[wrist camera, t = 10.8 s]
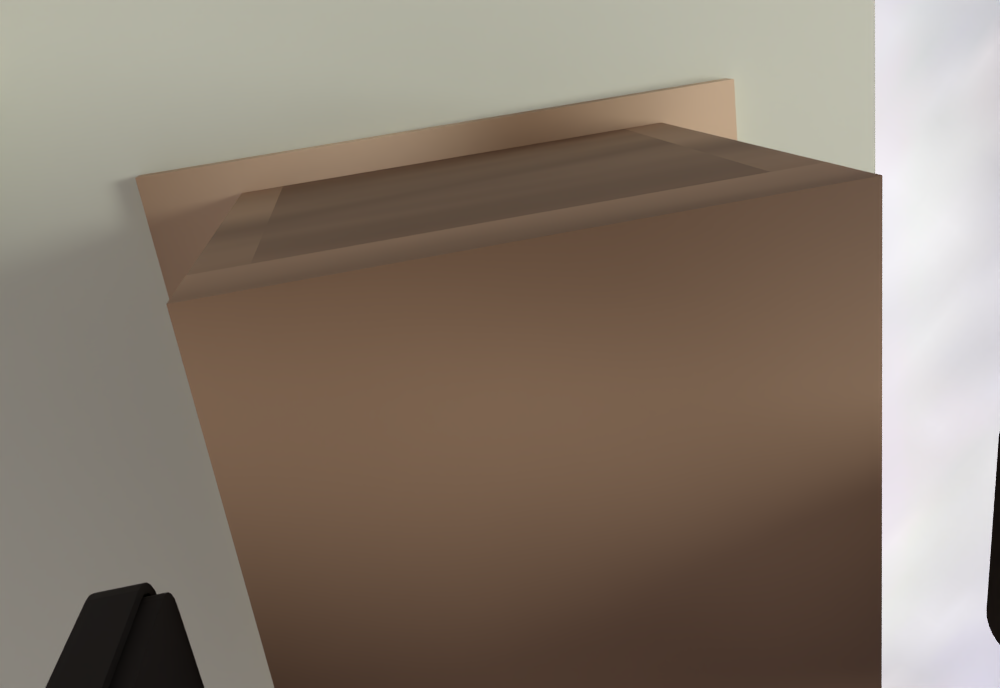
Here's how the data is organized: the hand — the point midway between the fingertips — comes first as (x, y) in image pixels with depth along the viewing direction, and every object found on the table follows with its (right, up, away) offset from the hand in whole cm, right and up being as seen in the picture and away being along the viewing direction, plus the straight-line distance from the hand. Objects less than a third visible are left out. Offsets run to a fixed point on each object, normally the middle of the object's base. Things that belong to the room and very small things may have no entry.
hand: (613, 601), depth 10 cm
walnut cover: (-1, +1, +5) cm, 5 cm away
